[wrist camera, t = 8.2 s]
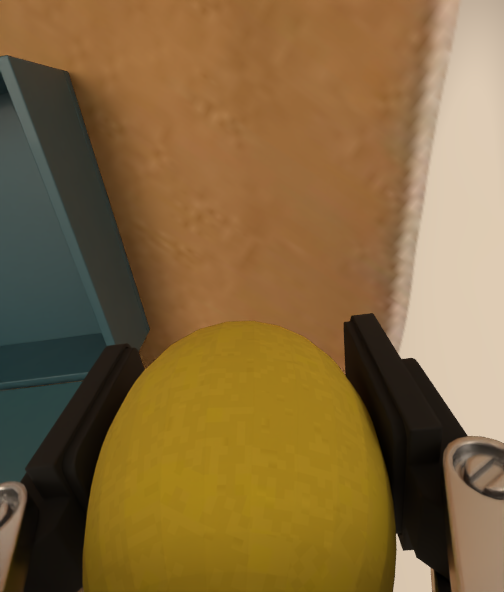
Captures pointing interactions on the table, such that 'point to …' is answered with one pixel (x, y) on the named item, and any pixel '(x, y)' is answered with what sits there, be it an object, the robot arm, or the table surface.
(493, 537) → the robot arm
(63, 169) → the chest
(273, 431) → the lemon
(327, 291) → the table surface
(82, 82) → the table surface
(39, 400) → the lid
